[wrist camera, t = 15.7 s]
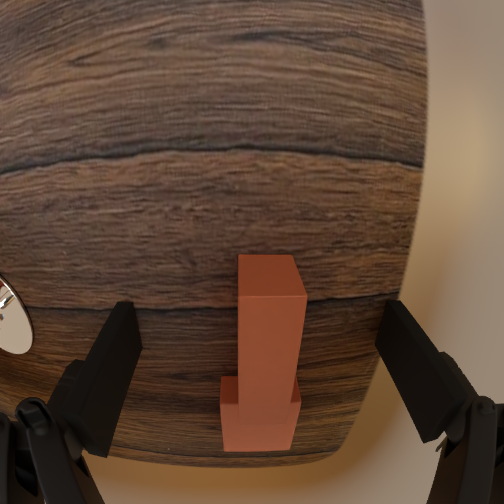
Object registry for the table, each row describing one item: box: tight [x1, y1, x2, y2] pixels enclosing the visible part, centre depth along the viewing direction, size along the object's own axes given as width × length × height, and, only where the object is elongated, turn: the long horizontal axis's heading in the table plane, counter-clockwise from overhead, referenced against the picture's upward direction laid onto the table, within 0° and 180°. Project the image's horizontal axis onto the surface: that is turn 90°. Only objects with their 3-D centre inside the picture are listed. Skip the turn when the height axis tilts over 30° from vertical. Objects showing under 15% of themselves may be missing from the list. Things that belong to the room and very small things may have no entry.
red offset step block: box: [220, 254, 308, 452], centre depth 13 cm, size 12×4×3 cm, turn 179°
